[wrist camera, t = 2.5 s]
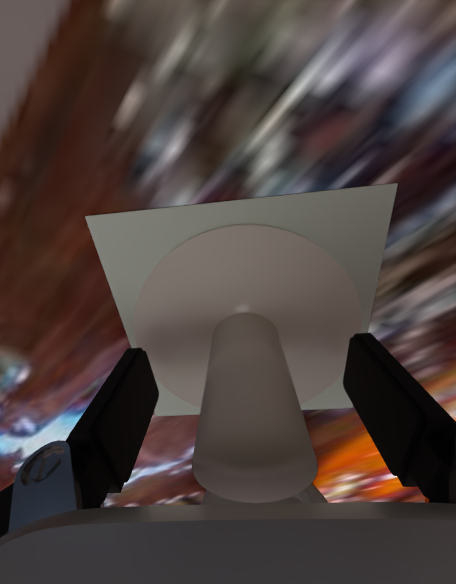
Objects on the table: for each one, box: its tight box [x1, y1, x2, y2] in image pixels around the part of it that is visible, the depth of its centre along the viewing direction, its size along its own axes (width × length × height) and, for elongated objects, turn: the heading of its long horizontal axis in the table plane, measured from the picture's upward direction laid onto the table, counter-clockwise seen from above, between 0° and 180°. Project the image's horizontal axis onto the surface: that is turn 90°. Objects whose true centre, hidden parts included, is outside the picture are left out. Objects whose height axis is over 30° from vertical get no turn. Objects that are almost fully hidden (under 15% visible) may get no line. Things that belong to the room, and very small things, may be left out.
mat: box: [85, 183, 398, 416], centre depth 13 cm, size 14×14×1 cm
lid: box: [134, 223, 362, 503], centre depth 9 cm, size 12×12×7 cm
